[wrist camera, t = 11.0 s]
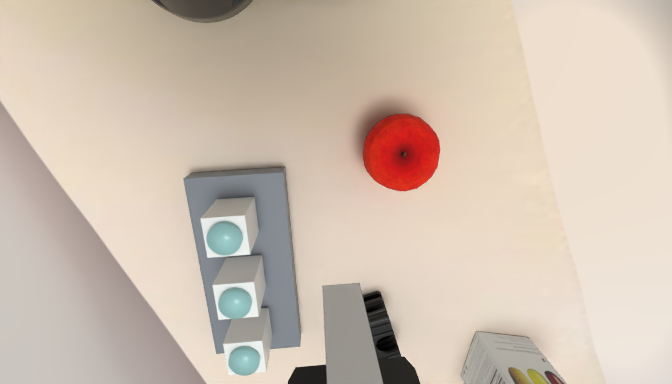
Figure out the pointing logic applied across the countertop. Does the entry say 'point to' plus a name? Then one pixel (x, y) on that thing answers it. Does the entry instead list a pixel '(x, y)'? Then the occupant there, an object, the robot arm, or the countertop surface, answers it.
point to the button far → (248, 344)
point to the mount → (269, 244)
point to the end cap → (380, 326)
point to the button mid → (240, 287)
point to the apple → (401, 152)
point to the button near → (230, 227)
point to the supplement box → (507, 362)
